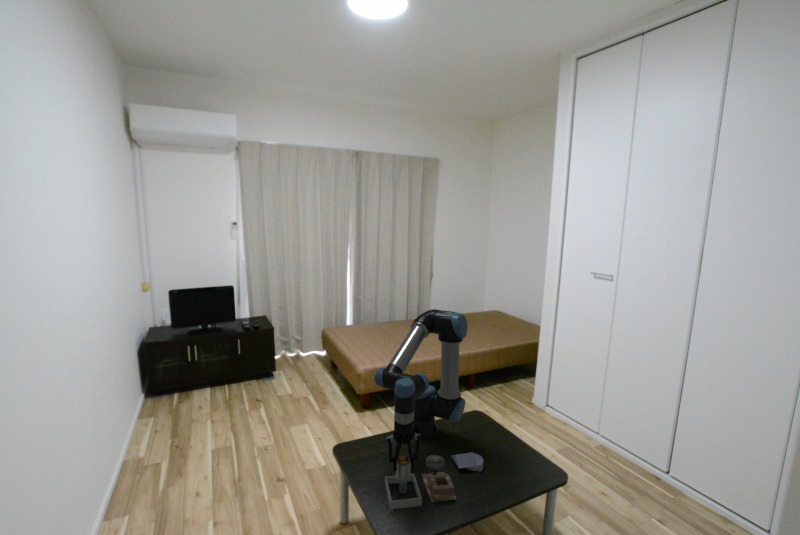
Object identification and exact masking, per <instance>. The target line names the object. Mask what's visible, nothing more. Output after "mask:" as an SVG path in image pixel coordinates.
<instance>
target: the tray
mask: <svg viewBox="0 0 800 535" xmlns="http://www.w3.org/2000/svg"><path fill="white" fill-rule="evenodd" d="M407 483H412V484H413V487H414V491H415V493H416V496H417V497H412V498H405V499H404V498H403V499H402V498H401V499H396V500H393V499H392V496H391V490H390V487H389V485H394V484H399V480H397V479H396V475H389V476H384V488H385V489H384V490H385V494H386V499H387V503H388V507H389V512H390V513H393V512H394V510H397V509H406V508H413V507H421V506H423V497H422V494H421V491H420V488H419V485H418V482H417V478H416V476H415V473H411V476H410V479H408V476H407Z"/></svg>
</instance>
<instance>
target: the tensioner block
mask: <svg viewBox="0 0 800 535" xmlns="http://www.w3.org/2000/svg"><path fill="white" fill-rule="evenodd" d="M425 467H426V468H427V469H428V470H431V471H432V472H431V473H421V477H422V480H423V482H424V486H425V489H426V491H427V494H428V497H429V499H430V502H431V503H437V502H438V503H439V502H446V501H456V500H457V497H456V495H455V490H456V489H455V488H456V487H455V486H454V485H455V484H454V483H453V481H452V478H451V476H450V475H449V473H445V471H443V470H444V468H445V467H446V459H444V457H443V456H441V455H438V454H430V455H428V456H427V457H426V458H425ZM438 471H439V472H438ZM440 471H442V472H440Z"/></svg>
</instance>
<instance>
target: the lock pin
mask: <svg viewBox="0 0 800 535" xmlns="http://www.w3.org/2000/svg"><path fill="white" fill-rule="evenodd" d="M409 459H410V458H409V456H406V455H399V457H398V463H399V483H398V492H399V493H400V494H406V493H407V490H408V489H407V486H408V485H407V484H408V482H407V464H408V462H409Z"/></svg>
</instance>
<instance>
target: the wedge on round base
mask: <svg viewBox="0 0 800 535" xmlns="http://www.w3.org/2000/svg"><path fill="white" fill-rule="evenodd" d="M451 458H452V460H453V461H454V463H455V465H456V466H457V468H458V469H464V468H465V469H466V470H469V471H472V472H479V473H481V472H482V471H483V469H484V459H483V457H482V456H481V455H480V454H477V453H474V452H466V453H459V454H458V453H457V454H453V455H451Z"/></svg>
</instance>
